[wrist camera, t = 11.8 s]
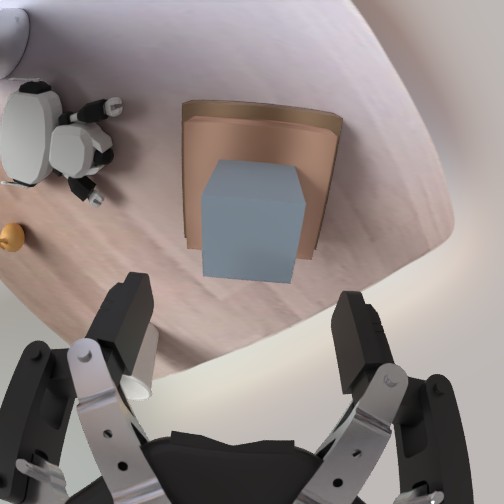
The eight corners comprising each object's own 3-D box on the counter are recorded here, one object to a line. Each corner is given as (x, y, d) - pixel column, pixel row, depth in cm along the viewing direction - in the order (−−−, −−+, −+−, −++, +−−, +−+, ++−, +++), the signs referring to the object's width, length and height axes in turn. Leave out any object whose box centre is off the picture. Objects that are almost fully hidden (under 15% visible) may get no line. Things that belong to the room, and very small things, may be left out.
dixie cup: (164, 352, 42) (150, 406, 34) (116, 335, 40) (96, 386, 32) (171, 322, 37) (152, 383, 29) (115, 303, 36) (88, 360, 28)
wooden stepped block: (191, 221, 28) (176, 257, 23) (191, 100, 21) (169, 108, 16) (311, 232, 28) (320, 270, 23) (333, 113, 21) (354, 125, 16)
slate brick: (218, 223, 21) (203, 276, 16) (219, 159, 18) (201, 195, 13) (285, 229, 21) (290, 283, 16) (294, 165, 18) (306, 204, 13)
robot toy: (139, 90, 21) (27, 72, 17) (120, 96, 17) (0, 78, 14) (113, 200, 28) (16, 169, 24) (96, 222, 24) (-6, 185, 20)
